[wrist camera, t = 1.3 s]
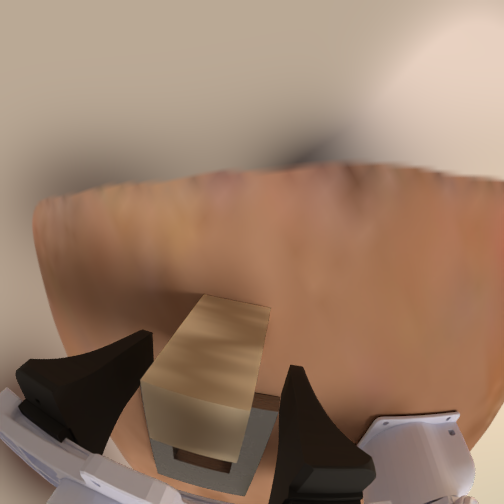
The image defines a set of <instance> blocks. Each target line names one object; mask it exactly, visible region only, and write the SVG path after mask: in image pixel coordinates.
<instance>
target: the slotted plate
mask: <svg viewBox="0 0 504 504" xmlns="http://www.w3.org/2000/svg"><path fill="white" fill-rule="evenodd" d="M140 387H141V385H140ZM141 394H142V390H141ZM142 400H143V397H142ZM279 404H280V397H275V396H269V395H264V394H258V393H254V397H253V402H252V407H251V411H250V415H249V419H248V423H247V427H246V431H245V435H244V439H243V442H242V446H241V450H240V454H239V457H238V461H237V463H233V462H228V461H223V460H219V459H215V458H211V457H207V456H203V455H199V454H196V453H192V452H189V451H186V450H182V449H179V448H176V447H173V446H170V445H167V444H164V443H162V442H159V441H156V440H153V439H151V438H150V436H149V438H150V442H151V447H152V451H153V455H154V460H155V464H156V467H157V471H158V473H159V474H161V475H164V476H167V477H170V478H173V479H176V480H179V481H182V482H186V483H189V484H192V485H196V486H200V487H203V488H207V489H211V490H216V491H220V492H225V493H229V494H234V495H240V496H245V495H246V493H247V490H248V488H249V486H250V484H251V481H252V479H253V477H254V474H255V472H256V470H257V467H258V465H259V462H260V460H261V457H262V455H263V452H264V450H265V447H266V445H267V442H268V440H269V437H270V434H271V432H272V429H273V426H274V424H275V421H276V418H277V415H278V413H279ZM143 406H144V403H143ZM144 412H145V409H144ZM145 418H146V415H145ZM146 423H147V420H146ZM147 428H148V426H147ZM148 433H149V431H148Z"/></svg>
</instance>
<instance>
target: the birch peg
mask: <svg viewBox="0 0 504 504" xmlns="http://www.w3.org/2000/svg"><path fill="white" fill-rule="evenodd" d="M270 309H271V308H269V307H264V306H259V305H253V304H248V303H244V302H239V301H234V300H229V299H224V298H220V297H215V296H211V295H206V294H204V295H203V296H202V297H201V299H200V300H199V301H198V303H197V304H196V305H195V307H194V308H193V309H192V311H191V312H190V313H189V315H188V316H187V317H186V319H185V320H184V321H183V323H182V324H181V325H180V327H179V328H178V329H177V331H176V332H175V333H174V335H173V336H172V337H171V339H170V340H169V342H168V343H167V344H166V346H165V347H164V348H163V350H162V351H161V352H160V354H159V355H158V356H157V358H156V359H155V361H154V362H153V363H152V365H151V366H150V367H149V369H148V370H147V371H146V373H145V374H144V376H143V377H142V378H141V380H140V383H141V390H142V397H143V403H144V409H145V415H146V420H147V426H148V431H149V436H150V438H151V439H153V440H156V441H159V442H162V443H164V444H167V445H170V446H173V447H176V448H179V449H183V450H186V451H189V452H193V453H196V454H200V455H203V456H207V457H211V458H215V459H219V460H224V461H228V462H233V463H237V461H238V457H239V454H240V450H241V446H242V442H243V439H244V435H245V431H246V427H247V423H248V419H249V415H250V411H251V407H252V402H253V397H254V392H255V387H256V382H257V378H258V373H259V368H260V362H261V357H262V352H263V347H264V342H265V337H266V331H267V326H268V320H269V315H270Z"/></svg>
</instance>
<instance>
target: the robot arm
mask: <svg viewBox="0 0 504 504" xmlns="http://www.w3.org/2000/svg"><path fill="white" fill-rule="evenodd" d="M153 362H154V357H153V337H152V332H149V331H145V330H140V331H138V332H136V333H134V334H131V335H129V336H127V337H125V338H123V339H121V340H119V341H117V342H115V343H112V344H110V345H108V346H105V347H103V348H100V349H98V350H95V351H92V352H89V353H85V354H81V355H77V356H72V357H66V358H59V359H29V360H28V361H27V362H26V363H25V364H23V365H22V366H21V367H20V368H19V369H17V370H16V379H17V381H18V384H19V385H20V388H21V390H22V392H23V394H24V396H25V398H26V399H25V400H24V401H23V402H22V400H21V399H20V398H19V397H18V396H17V395H16V394H15V393H14V392H12V391H11V390H10V389H9V388H7V387H6V388H5V389H4V390H3V391H2V392H1V393H0V438H1V440H2V441H4V442H5V444H6V445H8V446H9V447H10V448H11V449H12V450H13V451H14V452H15V453H16V454H17V455H18V456H19V457H20V458H21V459H23V460H24V461H25V462H26V463H27V464H28V465H29V466H30V467H32V468H33V469H34V470H35V471H36V472H38V473H39V474H40V475H41V476H42V477H44V478H45V479H46V480H47V481H49V482H50V483H51V484H53V485H54V486H55V487H57V488H56V490H55V491H54V492H53V494H52V495H51V497H50V498H49V500H48V501H47V503H46V504H233V503H228V502H223V501H218V500H214V499H210V498H206V497H202V496H198V495H194V494H191V493H187V492H184V491H180V490H177V489H175V488H173V487H172V486H170V485H169V484H167V483H165V482H162V481H160V480H158V479H156V478H153V477H150V476H148V475H145V474H143V473H140V472H138V471H135V470H133V469H130V468H128V467H126V466H124V465H122V464H120V463H117V462H115V461H113V460H111V459H109V458H107V457H105V456H102V454H103V451H104V449H105V446H106V444H107V441H108V439H109V437H110V435H111V432H112V430H113V428H114V426H115V424H116V422H117V420H118V418H119V416H120V414H121V413H122V411H123V409H124V407H125V406H126V404H127V403H128V401H129V400H130V399H131V397H132V396H133V394H134V393H135V392H136V390H137V389H138V388H139V386H140V385H141V383H140V380H141V378H142V377H143V376H144V374H145V373H146V371H147V370H148V369H149V367H150V366H151V365H152V363H153ZM459 416H460V414H459V412H451V413H442V414H432V415H419V416H396V417H378V418H376V419H375V420H374V422H373V423H372V425H371V426H370V428H369V429H368V430H367V432H366V433H365V435H364V436H363V437H362V439H361V440H360V442H359V443H358V444H357V446H356V445H355V444H354V443H353V442H351V441H350V440H349V439H348V438H347V437H346V436H345V435H344V434H343V433H342V432H341V431H340V430H339V429H338V428H337V427H336V425H335V424H334V423H333V422H332V420H331V419H330V418H329V416H328V415H327V414H326V412H325V411H324V409H323V407H322V406H321V404H320V403H319V401H318V399H317V397H316V395H315V393H314V391H313V389H312V387H311V385H310V383H309V381H308V378H307V376H306V373H305V370H304V368H303V367H302V366H295V365H290V368H289V371H288V374H287V377H286V380H285V384H284V387H283V390H282V393H281V400H280V407H279V445H278V455H277V461H276V468H275V474H274V479H273V485H272V490H271V495H270V499H269V504H361V502H360V500H361V499H363V498H364V504H479V503H478V501H477V500H476V499H475V498H474V497H469V496H466V495H467V494H468V493H469V491H470V490H471V488H472V486H473V483H474V478H475V465H474V461H473V459H472V456H471V454H470V452H469V449H468V447H467V445H466V443H465V440H464V438H463V436H462V434H461V432H460V430H459V428H458V425H457V423H456V420H457V419H458V418H459Z"/></svg>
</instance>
